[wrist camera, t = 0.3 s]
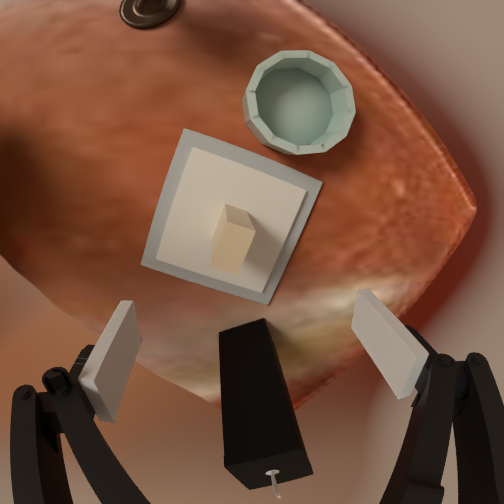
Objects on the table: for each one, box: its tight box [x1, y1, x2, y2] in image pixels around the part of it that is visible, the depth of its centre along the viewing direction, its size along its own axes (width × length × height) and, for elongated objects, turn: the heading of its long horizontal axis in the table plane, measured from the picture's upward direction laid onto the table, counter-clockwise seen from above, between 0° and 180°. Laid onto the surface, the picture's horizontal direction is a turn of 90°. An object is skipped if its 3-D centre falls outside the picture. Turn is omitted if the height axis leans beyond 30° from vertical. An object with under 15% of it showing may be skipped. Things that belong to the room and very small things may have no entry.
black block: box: [219, 318, 313, 499], centre depth 34 cm, size 8×8×28 cm
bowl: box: [242, 50, 356, 155], centre depth 32 cm, size 13×13×6 cm
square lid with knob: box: [156, 147, 306, 293], centre depth 34 cm, size 16×16×11 cm
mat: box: [141, 128, 323, 305], centre depth 39 cm, size 20×20×1 cm
